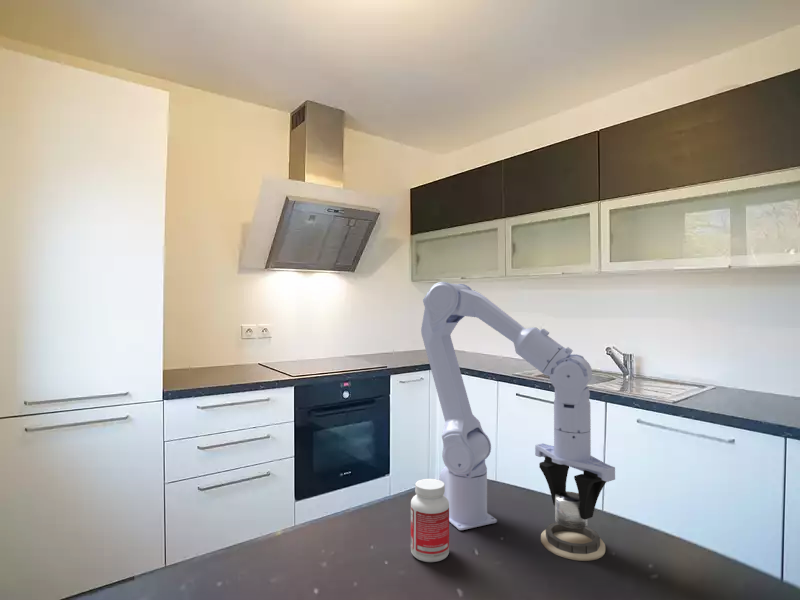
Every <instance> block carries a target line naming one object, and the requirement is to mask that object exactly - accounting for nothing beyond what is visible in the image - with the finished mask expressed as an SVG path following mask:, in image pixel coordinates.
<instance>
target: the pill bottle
mask: <svg viewBox="0 0 800 600" xmlns="http://www.w3.org/2000/svg"><path fill="white" fill-rule="evenodd" d="M414 485H415V489H414V491H415V492H414V493H415V495H413V496H412V498H411V500H410V552H411V554H412V556H413V557H414V558H416V559H417V560H419V561H421V562H425V563H436V562H440V561H444V560H445V559H447V557H448V555H449V553H450V522H449V501H448V499H447V498H446V497H445V496H444V492H445V484H444V482H442V481H440V480H439V479H435V478H423V479H419V480H417V481H416V482H415V484H414Z"/></svg>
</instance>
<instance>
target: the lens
mask: <svg viewBox="0 0 800 600" xmlns="http://www.w3.org/2000/svg"><path fill="white" fill-rule="evenodd" d="M554 512H555V513H554V517H555V518H554V520H555V523H556V522H557V523H558V524H560V525H561V526H564V527H567V528H572V529H581V528H585V527H586V526H587V527H588V519H586V520H584V519H582V518H581V516H580V502H579V493H578V492H575V491H567V490H566V491H562V492H558V493H556V494H555V506H554Z"/></svg>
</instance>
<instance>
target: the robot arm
mask: <svg viewBox="0 0 800 600" xmlns="http://www.w3.org/2000/svg"><path fill="white" fill-rule="evenodd" d="M422 302H423V306H424V310H423V311H424V312H423V317H422V322H421V328H420V329H421V331H420V332H421V337H422V341H423V344H424V348H425V352H426V356H427V359H428V363H429V366H430V371H431V374H432V377H433V378H432V379H433V382H434V385H435V389H436V393H437V396H438V400H439V403H440V407H441V412H442V414H443V419H444V426H443V430H442V433H441V439H442V443H443V447H442V453H441V454H442V461H443V464H444V466H443V468H442V469H441V470H440V471H441V472H440V473H439V479H438V480H440V481H442V482H444V484H445V492H444V496H445V497H446V498H447V499H448V501H449V524H450V523H451V525H453V526H454V527H455V528H456V529H458V530H459V531H464V530H468V529H474V528H477V527H479V528H480V527H482V526H486V525H491V524H496V523H498V519H497V518H495V517H494V516H493V515H491V514H490V513H488V476H487V475H488V468H487V465H486V459H487V458H488V457H489V456H490V454H491V452H492V451H491V450H492V444H491V440H490V438H489V437H488V435H487V434H486V432H484V430H483V427H482V424H481V422H480V420H479V419H478V418H477V417H476V416H475V415H474V414H473V412H472V411H473V410H472V408H471V404H470V401H469V397H468V393H467V390H466V387H465V384H464V383H465V382H464V379H463V376H462V372H461V370H460V369H461V368H460V365H459V361H458V358H457V354H456V351H455V348H454V344H453V339H452V336H451V334H453V333H452V332H453V331H454V330H455V328H456V326H457V325H458V324H459V322H460V321H461V320H463V319H464V318H465V317H470V318H477V319H479V320H480V321H481V322H484V323H485V324H486V325H487V326H489V327H491V328H492V329H493V330H495V331H496V332H498V333H499V334H500V335H502V336H504V337H505V338H507V339H508V340H509V341H511V342H512V343H513V345H514V349H515V350H514V351H515V354H517V355H518V356H519V357H520V358H522V359H523V360H524V361H526V362H527V363H529V364H530V365H531V366H532V367H533V368H535V369H536V370H538V371H539V372H540V373H541V374H543V375H544V376H548V377H549V380H550V383H551V385H552V387H554V401H553V445H549V444H546V443H539V444H538V443H537V444H535V447H534V450H535V451H534V453H535V454H534V455H535V456H536V457H539V458H541V457H543V458H544V460H543V461H541V462H539V469H540V471H541V472H542V474H543V476H544V477H545V481H546V482H547V485H548V488H549V493H550V495H551V500H552V503H553V506H554V507H555V494H556V493H558V492H562V491H567V478H568V473H569V469H570V468H573V469H574V470H579V471H581V472H583V473H581V474H577V475H574V476H573V479H574V481H575V484H576V487H577V493H579V502H580V516H581V518H582V519H584V520H586V519H587V520H588V519H591V518H593V517H594V512H595V508H596V505H597V502H598V499H599V496H600V494H601V491H602V490H603V488H604V487H605V485H606V484H607V483H609V482H611V481H612V482H613V481H614V480H616V467H615V466H613V465H610V464H608V463H605V462H604V461H602V460H600V459H598V458H596V457H594V456H593V455H592V454H591V453H592V451H591V444H592V442H591V441H592V440H591V437H592V436H591V425H592V424H591V402H590V397H591V392H590V387H589V386H588V384H589V383H590V382H591V380H592V377H593V370H592V366H591V364H590V363H589V362H588V361H587V360H586V359H585V358H584V356H583V355H580V354H575V353H573V352H574V351H573V349H572V348H570V347H569V346H567V347H564V346H563V345H561V344H560V343H558V342H557V341H556V340H554V339H553V338H552V337H550V336H549V335H550V331H548V330H547V329H545V328H541V329H539V328H537V327H534V326H533V327H528V328H526V327H524V326H523V325H522V324H520V323H519V322H518V321H517V320H515V319H514V318H512V317H511V316H510V315H509V314H507V312H505V311H504V310H502V309H501V308H500V306H499V307H498V305H496V304H495V303H494V302H493V301H491V300H490V299H489V298H488V297H486V296H485V295H483V294H482V293H480V292H478V291H476V290H473V289H472V288H471V287H470V286H469V285H467V284H465V283H450V282H447V281H439V282H436V283H434V284H433V285H432V286H431V287H430V288H429V290H428V291H427V293H426V295H425V296H424V297H423V299H422ZM572 353H573V354H572Z"/></svg>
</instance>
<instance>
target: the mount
mask: <svg viewBox="0 0 800 600" xmlns="http://www.w3.org/2000/svg"><path fill="white" fill-rule="evenodd" d="M540 542H541V544H542V546H543V547H544V548H545V549H546V550H547V551H549V552H550V553H552V554H554V555H556V556H559V557H561V558H564V559H567V560H568V559H569V560H572V561H578V562H579V561H580V562H581V561H583V562H587V561H588V562H590V561H595V560H599V559H600V558H602V557H604V555H605V553H606V544H605V542H604V541H603V539H602V538H601V537H600V535H599V534H598V533H597V531H596V530H595V529H592V528H590V527H589V526H588V525H587V526H586V527H585V528H581V529H572V528H567V527H564V526H561V525H560V524H558V523H557V522H556V521H555V522H553V523H550V524H548V525H547V526H546V528H545V529H544V530H543V531H542V532H541V534H540Z"/></svg>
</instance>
